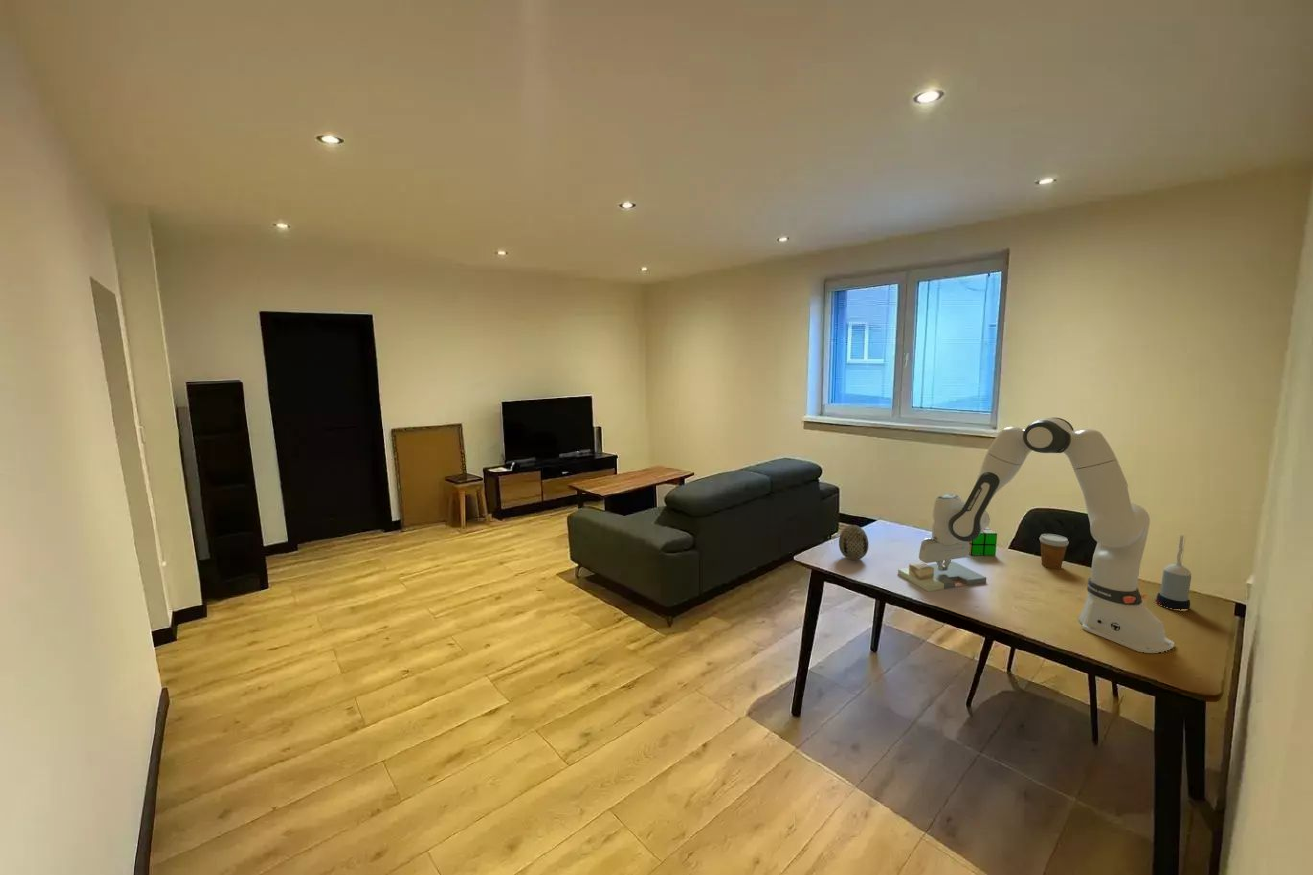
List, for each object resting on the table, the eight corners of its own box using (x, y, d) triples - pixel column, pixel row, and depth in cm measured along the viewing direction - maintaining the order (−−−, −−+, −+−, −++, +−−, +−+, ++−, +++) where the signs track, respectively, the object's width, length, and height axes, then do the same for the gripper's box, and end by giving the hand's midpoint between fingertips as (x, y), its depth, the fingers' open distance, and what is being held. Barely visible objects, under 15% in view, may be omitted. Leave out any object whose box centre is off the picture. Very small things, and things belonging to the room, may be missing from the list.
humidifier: (1150, 602, 180) (1160, 533, 176) (1164, 598, 183) (1174, 529, 179) (1180, 613, 173) (1191, 541, 169) (1195, 608, 176) (1206, 537, 172)
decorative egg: (857, 567, 215) (858, 532, 213) (832, 558, 225) (833, 524, 222) (873, 559, 222) (874, 525, 220) (848, 551, 231) (850, 519, 229)
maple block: (933, 578, 199) (934, 568, 198) (919, 580, 197) (920, 570, 197) (922, 571, 205) (922, 562, 204) (908, 573, 203) (909, 563, 203)
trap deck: (986, 582, 199) (986, 577, 198) (927, 591, 193) (928, 586, 192) (953, 566, 214) (953, 561, 214) (897, 573, 208) (898, 569, 208)
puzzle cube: (983, 547, 233) (985, 525, 231) (995, 556, 223) (997, 533, 222) (960, 547, 234) (961, 525, 232) (971, 555, 224) (972, 533, 223)
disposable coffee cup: (1072, 570, 207) (1075, 541, 205) (1047, 570, 207) (1050, 541, 205) (1054, 561, 217) (1057, 533, 215) (1031, 561, 217) (1033, 533, 215)
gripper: (928, 541, 195) (926, 577, 197) (973, 535, 200) (971, 570, 202) (915, 536, 201) (914, 570, 203) (960, 530, 206) (957, 563, 208)
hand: (942, 570), depth 202 cm, fingers closed
